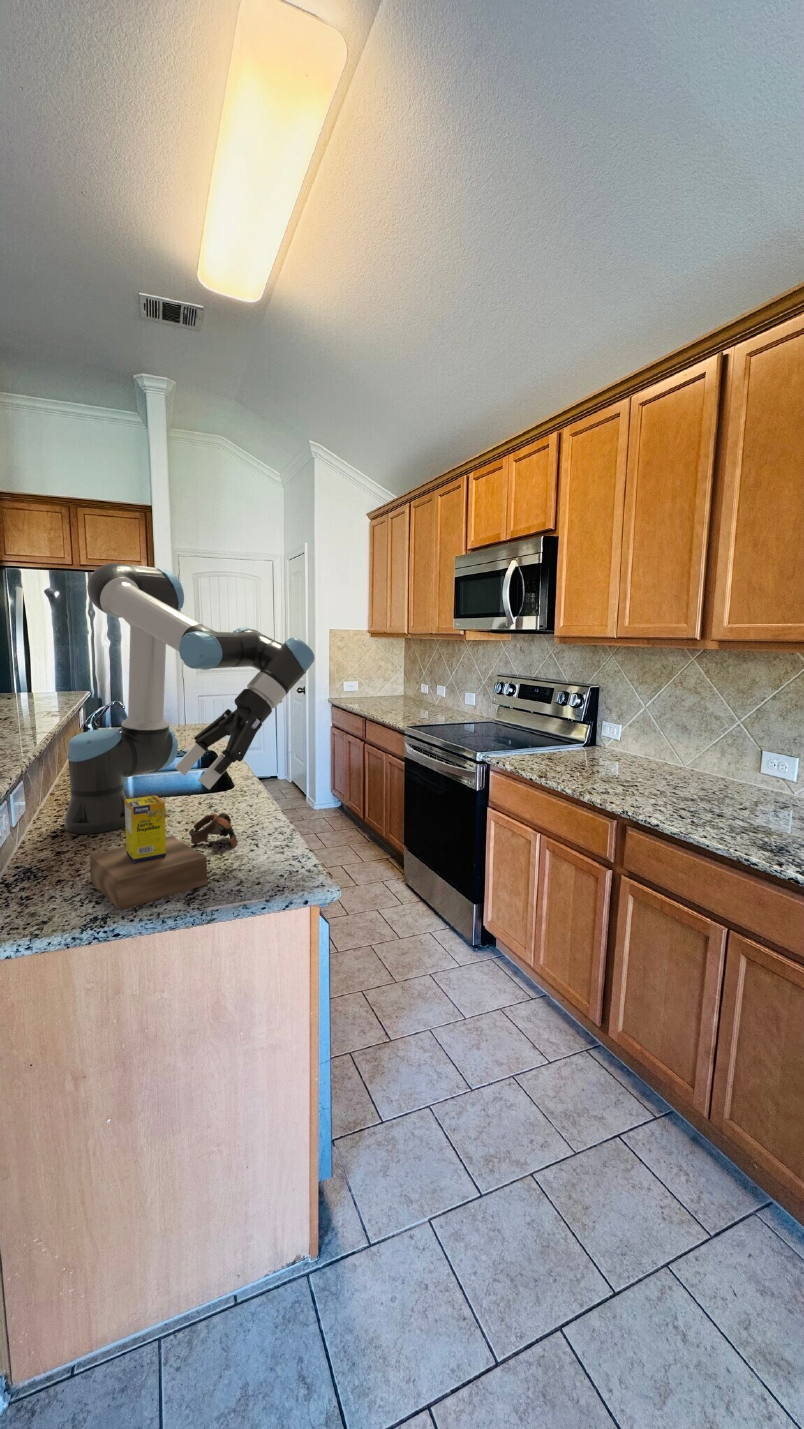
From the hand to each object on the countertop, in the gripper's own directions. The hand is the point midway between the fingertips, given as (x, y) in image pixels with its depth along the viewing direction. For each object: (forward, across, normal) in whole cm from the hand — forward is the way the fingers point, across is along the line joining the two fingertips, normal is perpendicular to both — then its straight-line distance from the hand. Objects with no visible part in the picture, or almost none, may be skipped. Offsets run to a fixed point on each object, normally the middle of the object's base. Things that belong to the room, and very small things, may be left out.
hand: (190, 778), depth 114 cm
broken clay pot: (+7, +12, -21) cm, 25 cm away
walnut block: (+20, 0, -8) cm, 22 cm away
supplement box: (+16, 0, -4) cm, 17 cm away
